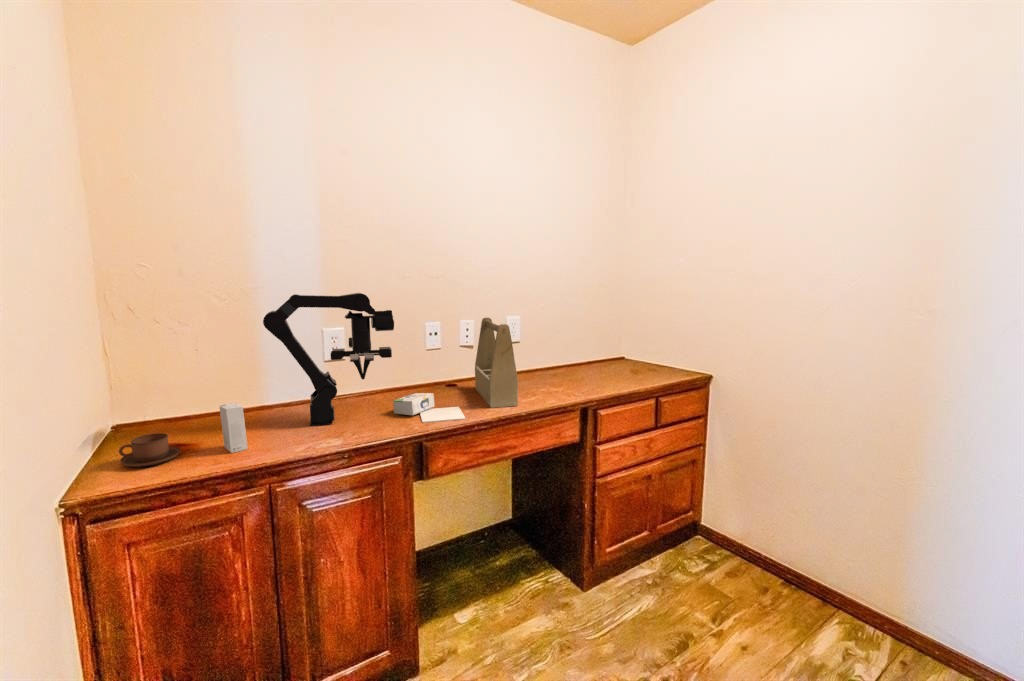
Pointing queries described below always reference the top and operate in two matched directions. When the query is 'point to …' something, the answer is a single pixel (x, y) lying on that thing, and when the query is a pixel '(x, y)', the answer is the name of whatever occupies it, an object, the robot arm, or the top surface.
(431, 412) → the mat
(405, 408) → the ink box
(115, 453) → the top surface
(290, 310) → the robot arm
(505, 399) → the caddy
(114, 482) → the top surface
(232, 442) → the skincare box
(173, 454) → the cup and saucer
